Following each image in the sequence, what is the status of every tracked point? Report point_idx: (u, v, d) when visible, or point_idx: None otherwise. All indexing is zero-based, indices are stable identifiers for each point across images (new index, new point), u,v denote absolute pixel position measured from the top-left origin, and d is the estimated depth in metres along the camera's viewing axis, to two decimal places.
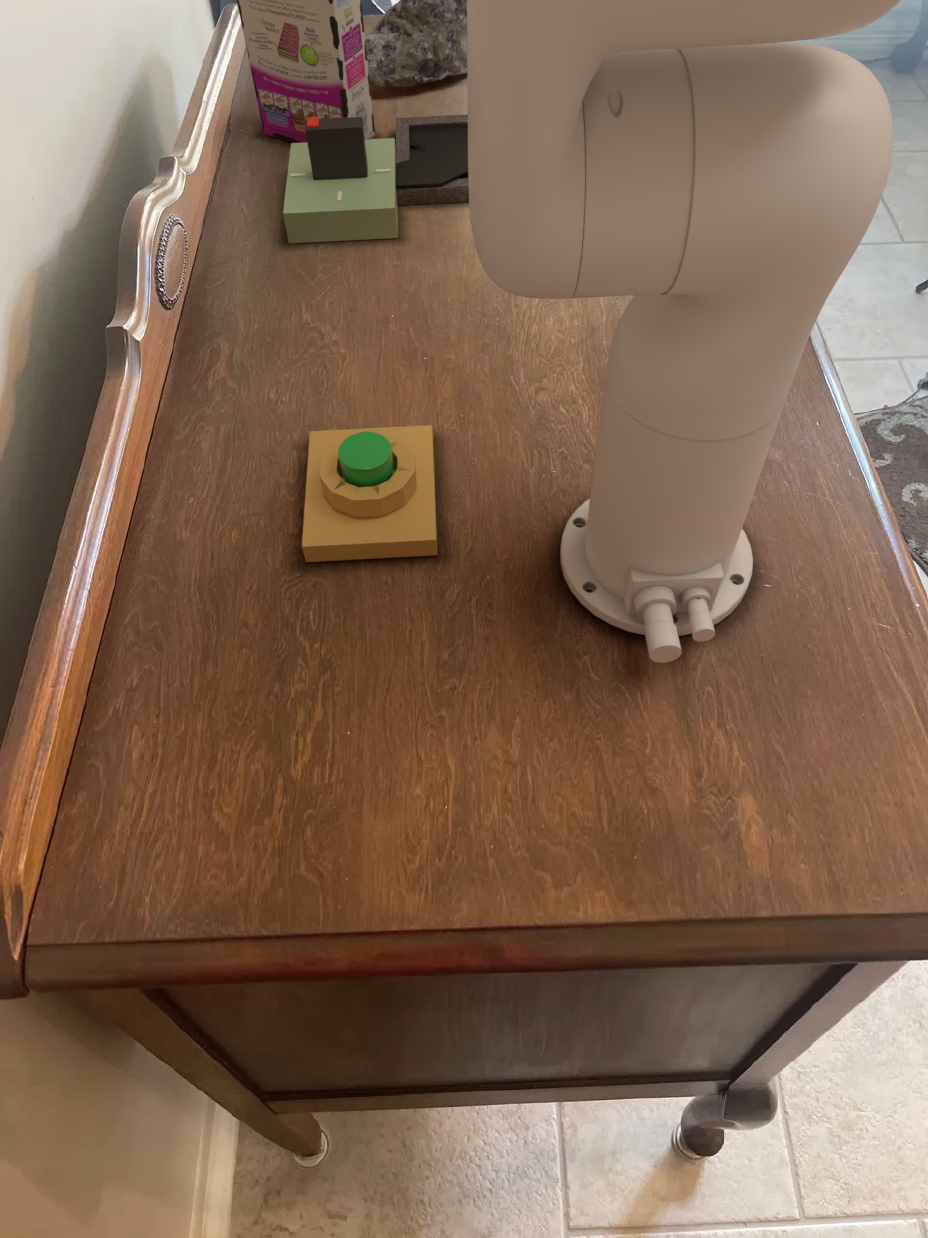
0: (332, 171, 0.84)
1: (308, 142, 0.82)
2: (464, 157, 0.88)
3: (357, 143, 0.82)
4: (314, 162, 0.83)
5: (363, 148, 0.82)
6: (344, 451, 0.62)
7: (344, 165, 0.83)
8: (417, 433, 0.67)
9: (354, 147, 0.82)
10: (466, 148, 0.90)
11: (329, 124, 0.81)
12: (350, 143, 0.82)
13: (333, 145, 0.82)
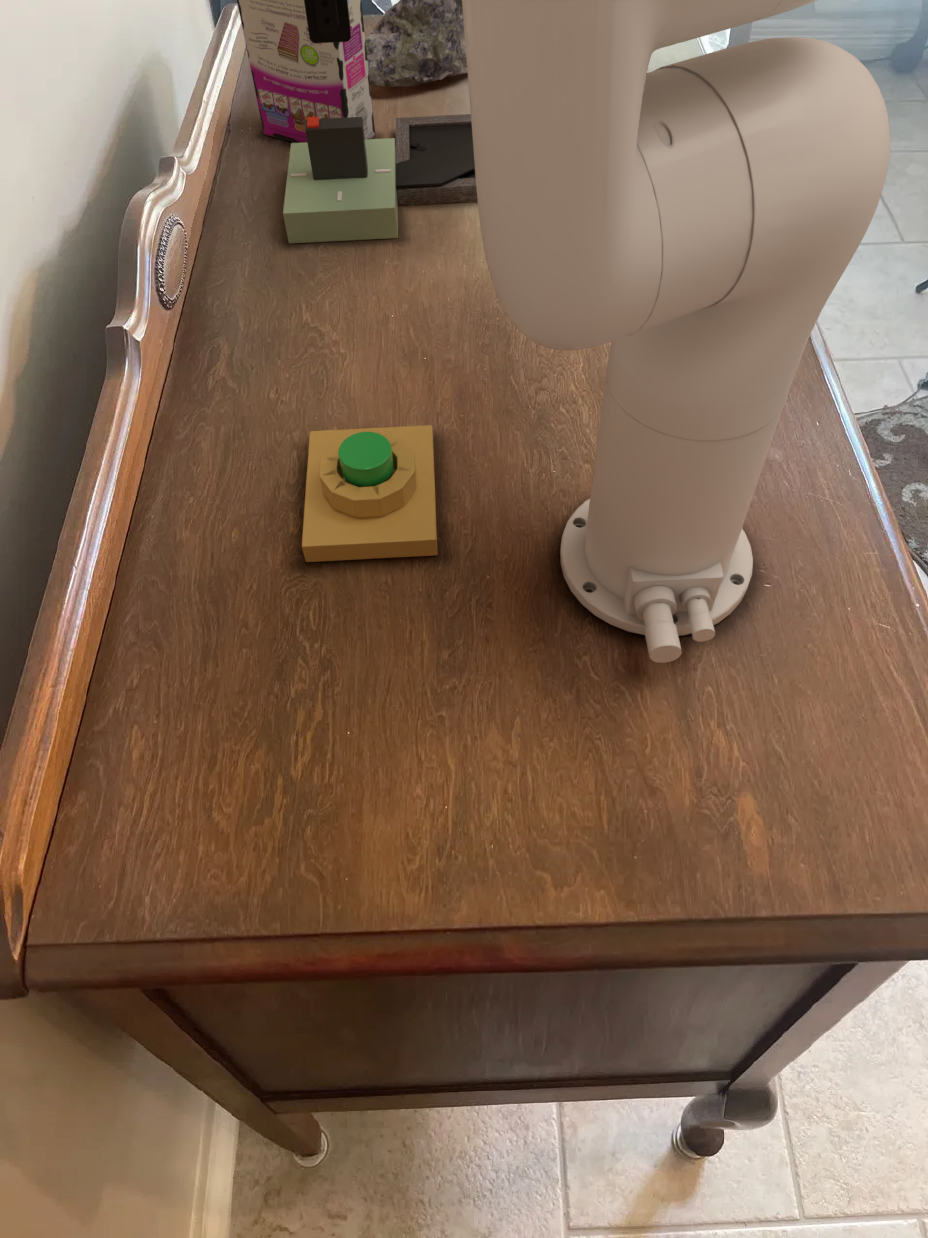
0: (332, 171, 0.84)
1: (308, 142, 0.82)
2: (464, 157, 0.88)
3: (357, 143, 0.82)
4: (314, 162, 0.83)
5: (363, 148, 0.82)
6: (344, 451, 0.62)
7: (344, 165, 0.83)
8: (417, 433, 0.67)
9: (354, 147, 0.82)
10: (466, 148, 0.89)
11: (329, 124, 0.81)
12: (350, 143, 0.82)
13: (333, 145, 0.82)
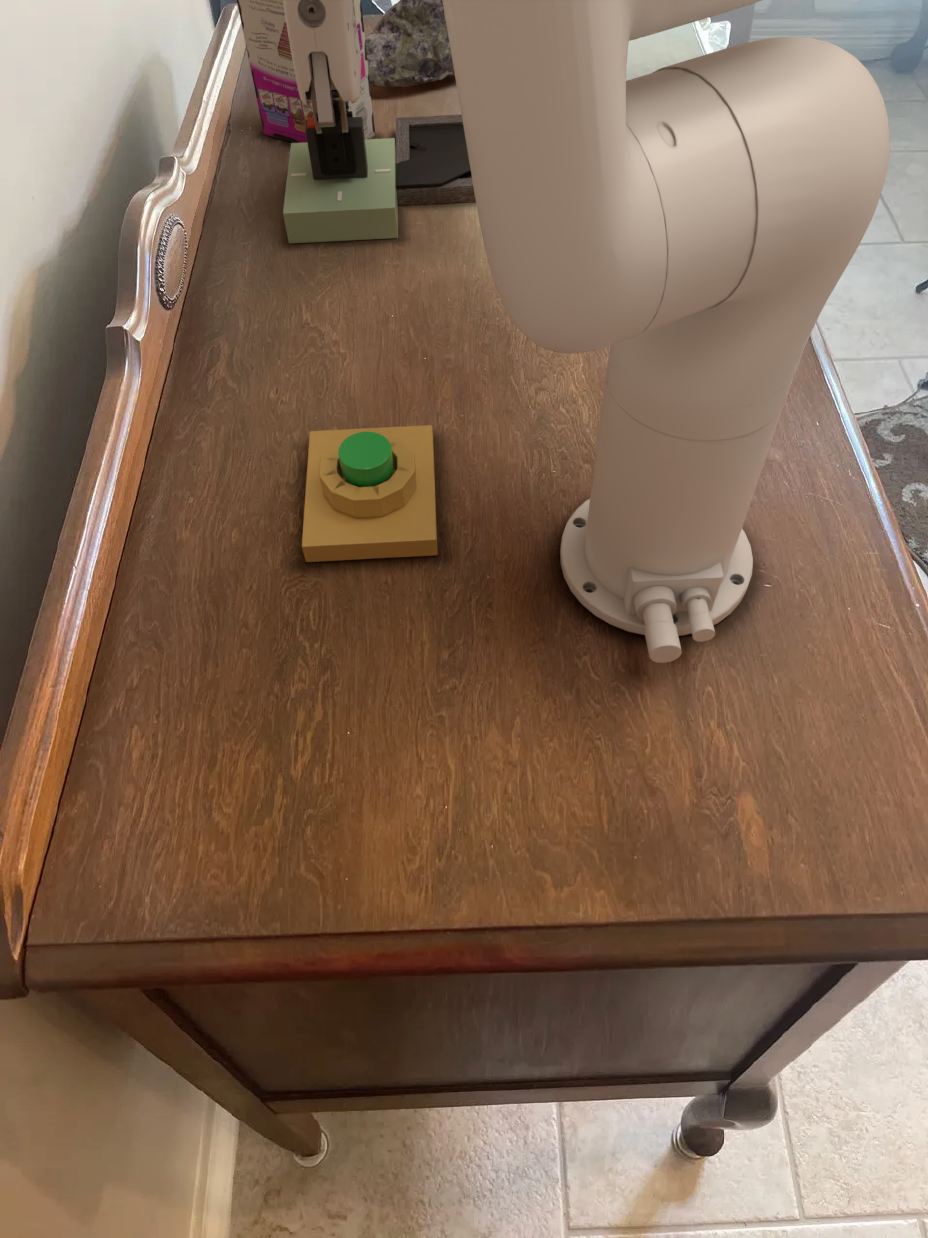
0: None
1: (308, 142, 0.82)
2: (464, 157, 0.88)
3: (357, 143, 0.82)
4: (314, 162, 0.83)
5: (363, 148, 0.82)
6: (344, 451, 0.62)
7: None
8: (417, 433, 0.67)
9: (354, 147, 0.82)
10: (466, 148, 0.89)
11: None
12: None
13: None
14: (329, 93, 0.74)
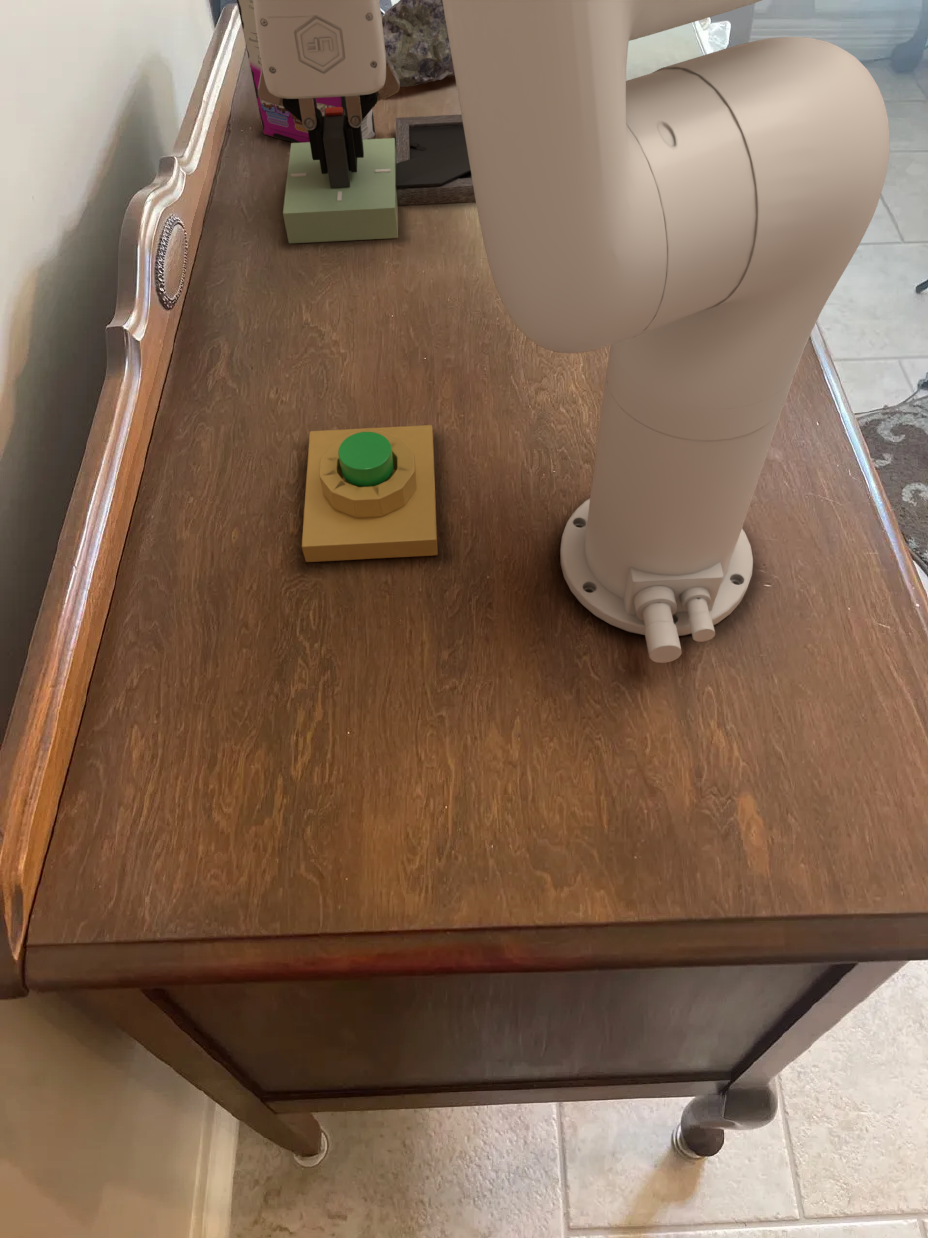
0: None
1: None
2: (464, 157, 0.88)
3: None
4: None
5: (326, 159, 0.81)
6: (344, 451, 0.62)
7: None
8: (417, 433, 0.67)
9: None
10: (466, 148, 0.89)
11: (331, 120, 0.81)
12: None
13: None
14: (263, 69, 0.77)
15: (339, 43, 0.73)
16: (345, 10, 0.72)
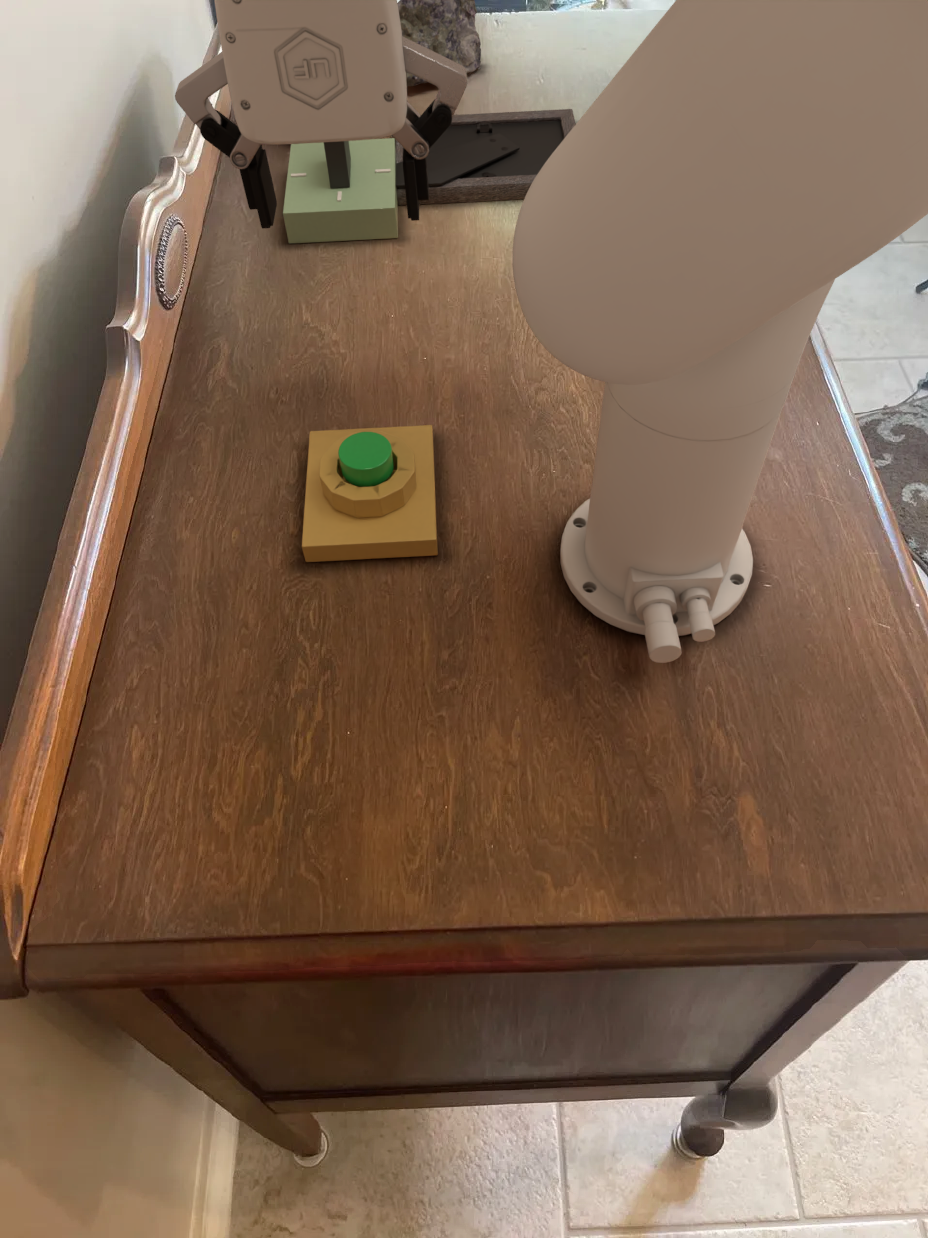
0: None
1: None
2: (464, 157, 0.88)
3: None
4: None
5: (326, 159, 0.81)
6: (344, 451, 0.62)
7: None
8: (417, 433, 0.67)
9: None
10: (466, 148, 0.89)
11: None
12: None
13: None
14: (203, 73, 0.53)
15: (339, 67, 0.51)
16: (347, 19, 0.49)
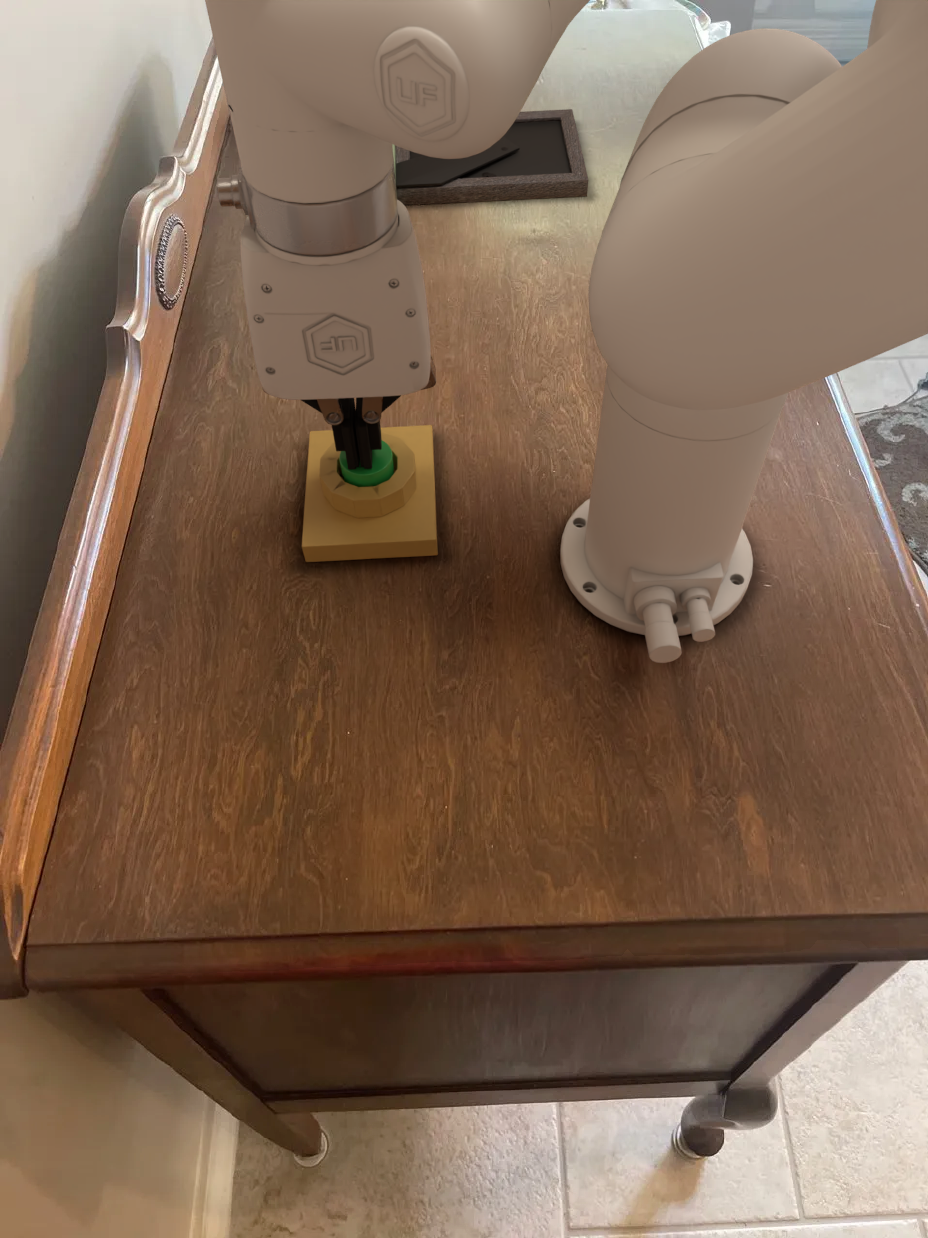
0: None
1: None
2: None
3: None
4: None
5: None
6: (345, 456, 0.62)
7: None
8: (417, 433, 0.67)
9: None
10: None
11: None
12: None
13: None
14: None
15: (366, 343, 0.51)
16: (377, 307, 0.49)
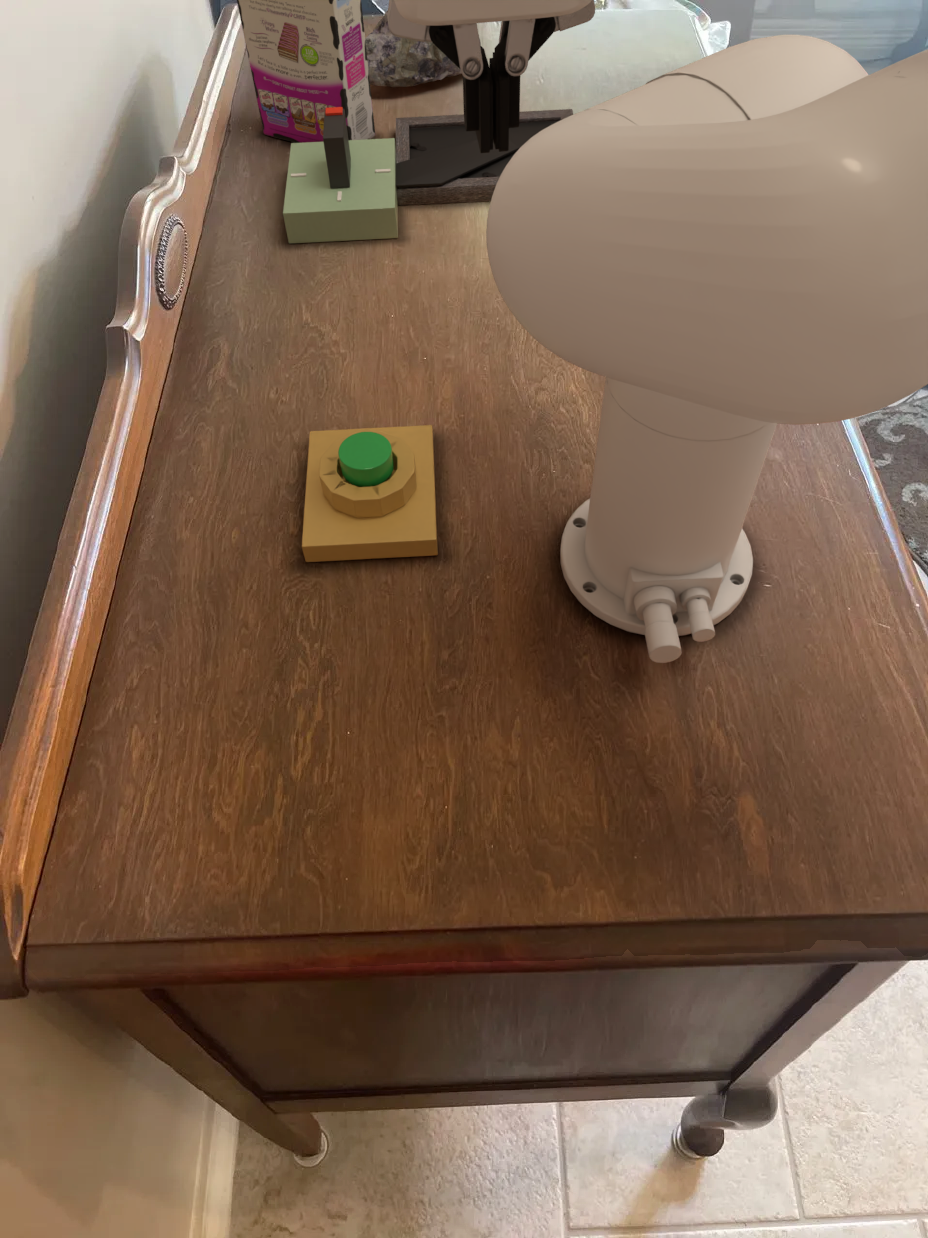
0: None
1: None
2: (464, 157, 0.88)
3: None
4: None
5: (326, 159, 0.81)
6: (344, 451, 0.62)
7: None
8: (417, 433, 0.67)
9: None
10: (466, 148, 0.89)
11: (331, 120, 0.81)
12: None
13: None
14: None
15: None
16: None
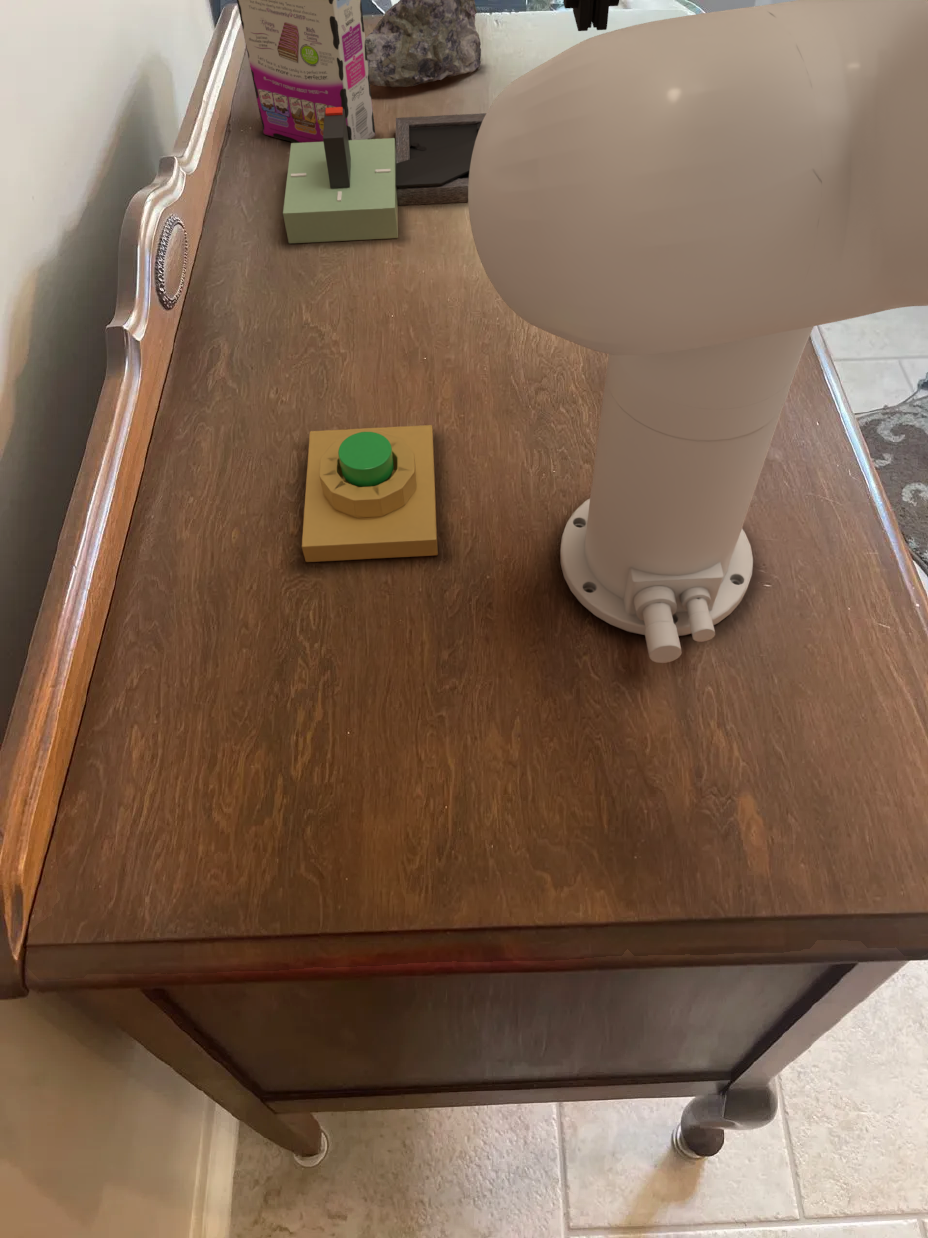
0: None
1: None
2: (464, 157, 0.88)
3: None
4: None
5: (326, 159, 0.81)
6: (344, 451, 0.62)
7: None
8: (417, 433, 0.67)
9: None
10: (466, 148, 0.89)
11: (331, 120, 0.81)
12: None
13: None
14: None
15: None
16: None
